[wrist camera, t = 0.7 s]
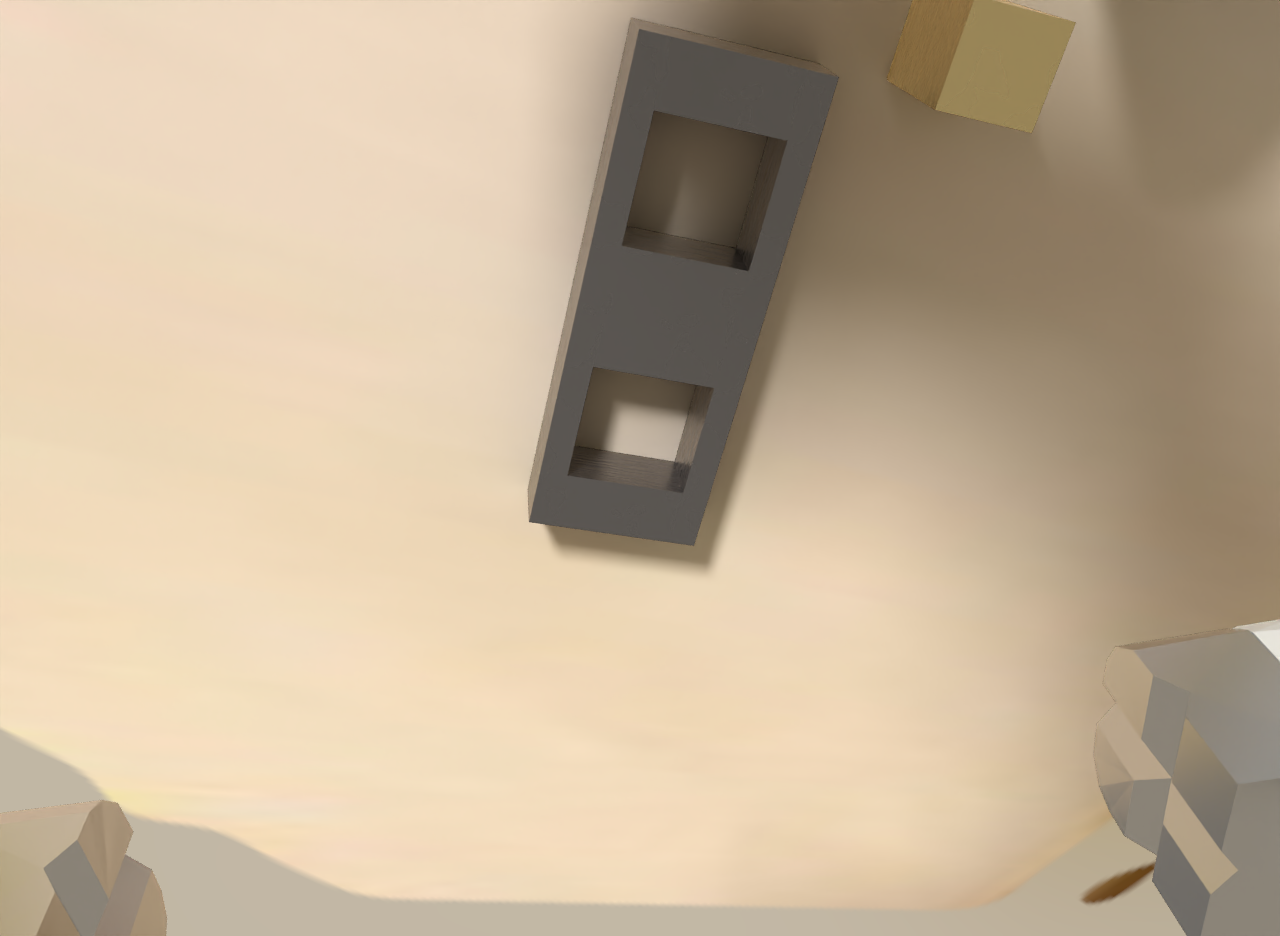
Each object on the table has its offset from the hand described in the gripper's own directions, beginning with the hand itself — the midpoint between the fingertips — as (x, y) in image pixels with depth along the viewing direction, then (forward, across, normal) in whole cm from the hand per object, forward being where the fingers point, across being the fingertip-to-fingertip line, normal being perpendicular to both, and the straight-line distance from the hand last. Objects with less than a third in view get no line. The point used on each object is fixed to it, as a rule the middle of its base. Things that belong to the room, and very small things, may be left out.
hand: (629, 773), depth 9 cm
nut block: (+40, -17, +2) cm, 43 cm away
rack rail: (+40, -4, +12) cm, 42 cm away
